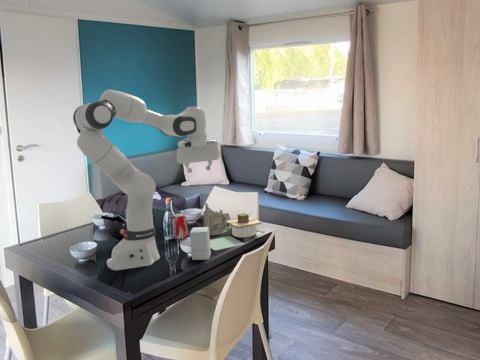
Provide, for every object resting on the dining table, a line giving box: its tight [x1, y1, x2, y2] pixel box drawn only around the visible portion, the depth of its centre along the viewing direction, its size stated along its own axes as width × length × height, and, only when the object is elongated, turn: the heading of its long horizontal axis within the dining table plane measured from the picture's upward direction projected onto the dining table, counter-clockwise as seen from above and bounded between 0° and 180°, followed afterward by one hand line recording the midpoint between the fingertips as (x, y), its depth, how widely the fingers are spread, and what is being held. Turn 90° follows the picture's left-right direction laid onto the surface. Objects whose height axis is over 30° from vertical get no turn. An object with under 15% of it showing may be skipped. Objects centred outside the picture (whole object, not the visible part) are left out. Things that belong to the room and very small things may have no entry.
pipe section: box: [231, 225, 257, 238], centre depth 231 cm, size 12×12×6 cm
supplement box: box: [189, 226, 212, 261], centre depth 202 cm, size 7×7×13 cm
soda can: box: [171, 212, 188, 240], centre depth 230 cm, size 7×7×12 cm
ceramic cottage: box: [203, 202, 232, 236], centre depth 240 cm, size 16×16×15 cm
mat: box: [210, 235, 245, 251], centre depth 220 cm, size 15×15×1 cm
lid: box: [226, 212, 263, 228], centre depth 230 cm, size 13×13×4 cm
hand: (199, 171), depth 220 cm, fingers open, 8 cm apart
